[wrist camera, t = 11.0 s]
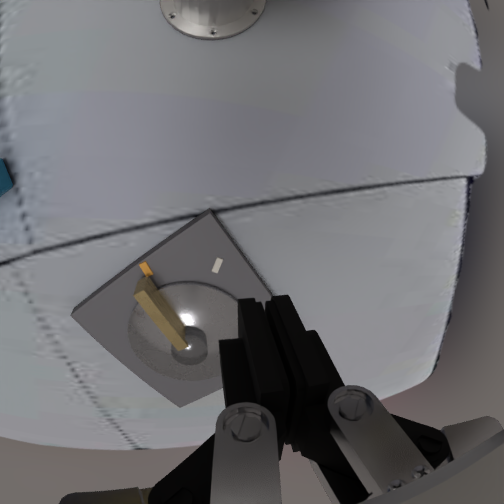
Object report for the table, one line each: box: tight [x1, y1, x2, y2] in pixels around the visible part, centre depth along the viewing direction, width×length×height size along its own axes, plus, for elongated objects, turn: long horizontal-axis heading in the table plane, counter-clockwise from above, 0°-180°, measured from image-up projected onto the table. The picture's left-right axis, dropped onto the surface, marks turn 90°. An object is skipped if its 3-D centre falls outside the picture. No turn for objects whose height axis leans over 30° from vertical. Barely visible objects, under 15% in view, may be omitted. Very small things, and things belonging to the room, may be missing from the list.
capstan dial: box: [128, 276, 238, 381], centre depth 40 cm, size 20×18×4 cm
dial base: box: [70, 208, 273, 407], centre depth 44 cm, size 26×26×2 cm
